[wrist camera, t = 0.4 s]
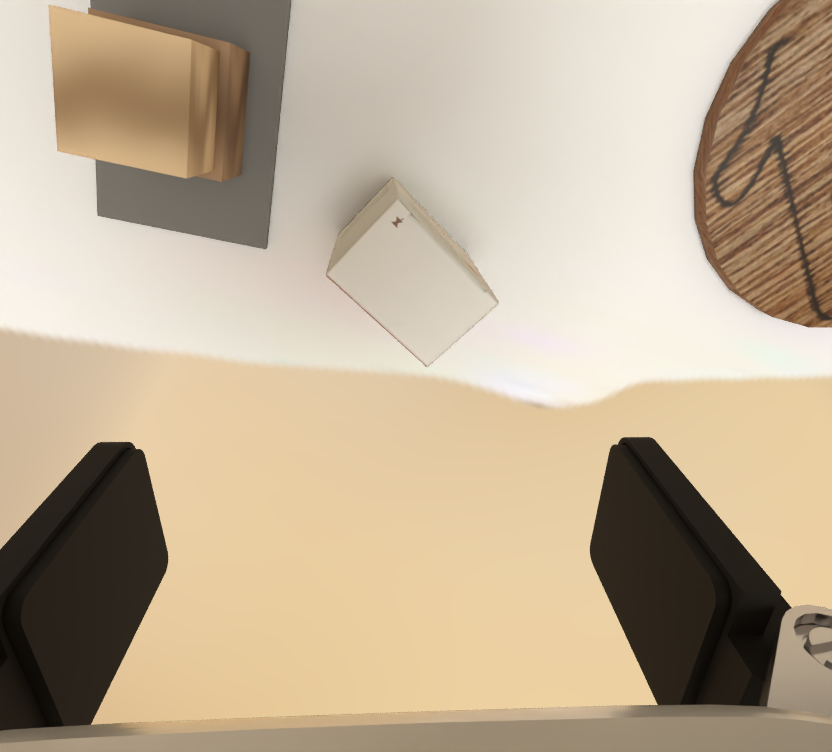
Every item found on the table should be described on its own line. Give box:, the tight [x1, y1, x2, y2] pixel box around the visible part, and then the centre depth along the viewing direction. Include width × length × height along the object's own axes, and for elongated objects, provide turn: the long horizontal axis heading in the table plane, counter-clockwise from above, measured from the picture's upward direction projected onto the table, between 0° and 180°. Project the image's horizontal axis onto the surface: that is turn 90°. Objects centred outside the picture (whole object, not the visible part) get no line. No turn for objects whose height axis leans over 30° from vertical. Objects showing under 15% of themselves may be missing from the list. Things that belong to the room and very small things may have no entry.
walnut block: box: [88, 8, 250, 182], centre depth 31 cm, size 7×7×4 cm
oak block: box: [49, 5, 220, 179], centre depth 27 cm, size 6×6×4 cm
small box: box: [326, 178, 499, 367], centre depth 33 cm, size 8×6×10 cm
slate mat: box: [90, 0, 291, 249], centre depth 33 cm, size 16×11×1 cm
